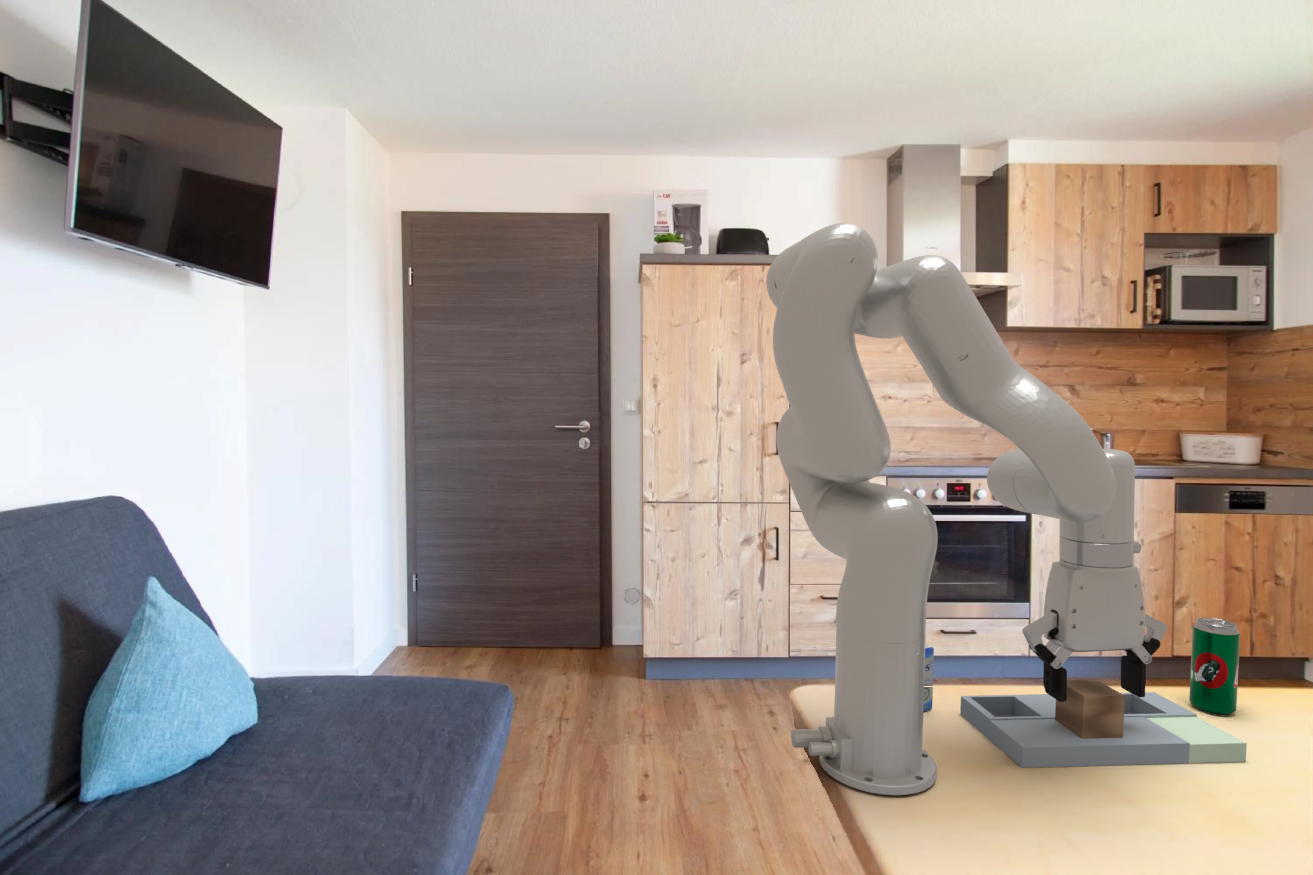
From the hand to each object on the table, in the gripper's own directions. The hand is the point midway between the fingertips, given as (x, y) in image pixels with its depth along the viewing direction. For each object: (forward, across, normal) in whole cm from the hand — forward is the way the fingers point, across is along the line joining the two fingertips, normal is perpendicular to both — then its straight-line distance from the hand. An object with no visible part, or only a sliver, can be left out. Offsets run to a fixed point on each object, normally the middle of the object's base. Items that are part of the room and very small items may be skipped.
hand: (1094, 694), depth 86 cm
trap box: (+6, -2, -3) cm, 7 cm away
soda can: (+7, -24, -10) cm, 27 cm away
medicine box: (+6, +19, -12) cm, 23 cm away
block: (+4, +1, 0) cm, 4 cm away
